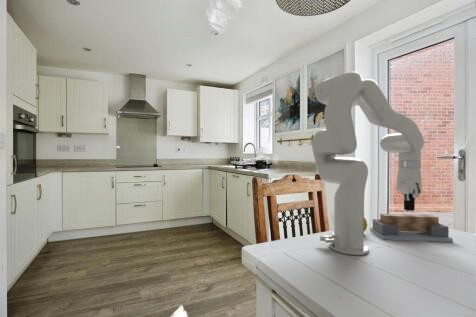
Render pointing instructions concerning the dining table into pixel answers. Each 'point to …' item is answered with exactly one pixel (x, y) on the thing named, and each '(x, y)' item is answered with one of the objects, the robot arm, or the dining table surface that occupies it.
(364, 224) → the lemon
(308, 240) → the dining table surface
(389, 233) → the grey stand
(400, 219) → the slat
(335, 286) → the dining table surface
